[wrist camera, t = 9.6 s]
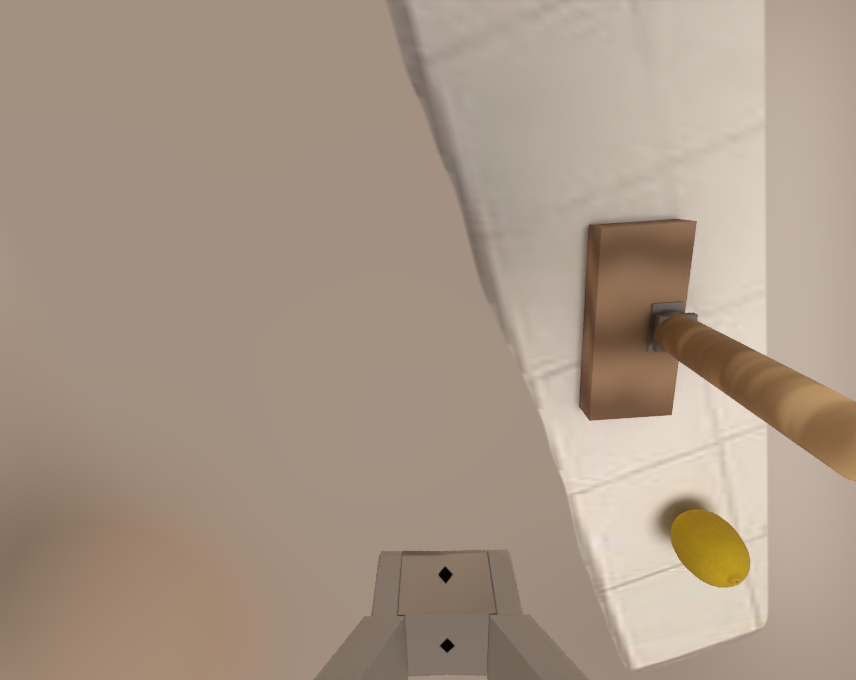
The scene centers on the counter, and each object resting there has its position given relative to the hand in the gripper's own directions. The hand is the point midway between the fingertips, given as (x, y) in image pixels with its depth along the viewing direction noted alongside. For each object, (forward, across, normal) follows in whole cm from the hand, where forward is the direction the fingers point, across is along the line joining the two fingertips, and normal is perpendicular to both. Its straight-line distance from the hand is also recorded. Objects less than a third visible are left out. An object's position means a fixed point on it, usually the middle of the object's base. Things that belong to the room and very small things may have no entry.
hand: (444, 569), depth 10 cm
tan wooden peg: (+24, -18, +3) cm, 31 cm away
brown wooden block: (+28, -16, +4) cm, 33 cm away
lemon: (+28, -25, +24) cm, 44 cm away
